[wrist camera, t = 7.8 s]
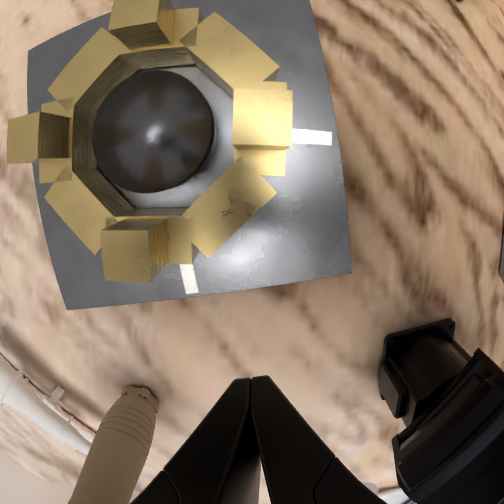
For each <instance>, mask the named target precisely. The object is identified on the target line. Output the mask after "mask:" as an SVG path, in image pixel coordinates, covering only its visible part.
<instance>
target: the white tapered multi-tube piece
mask: <svg viewBox="0 0 504 504" xmlns="http://www.w3.org/2000/svg"><path fill="white" fill-rule="evenodd" d="M64 392H65V391H64V390H63V389H62V388H61V387H59V386H57V388H56V389H55V391H54V392H53V394H52V395H51V397H50V398H49V397H48V396H46V395H43V394H42V393H41V392H40V391H38V390H37V389H36V388H35V387H34V386H33V385H31V384H30V383H29V380H28V379H27V378H26V379H25V378H24V377H23V373H22V372H21V371H20V370H19V371H17V370H15V369H14V368H13V367H12V366H11V365H10V364H9V363H8V362H7V361H6V360H5V358H4V357H3V356H2V355H1V354H0V405H1V406H3V405H4V404H5V405H6V406H8V407H10V408H11V409H13V410H15V411H16V412H18V413H19V414H21V415H23V416H25V417H26V418H28V419H30V420H31V421H32V422H34V423H35V424H36V425H37V426H39V427H40V428H41V429H43V430H44V431H45V432H47V433H48V434H49V435H51V436H52V437H54V438H55V439H56V441H57V442H61V443H64V444H66V445H68V446H69V447H71V448H72V449H73V450H74V451H76V449H77V450H79V451H80V452H82V453H84V454H85V455H88V452H89V450H90V447H91V444H92V442H93V439H94V437H95V435H96V434H95V433H94V432H92V431H91V430H90V429H88V428H87V427H85V426H84V425H82V424H81V423H79V422H78V421H77V420H75V419H74V418H73V417H74V416H73V415H71V416H70V415H69V414H67V413H66V412H65V411H63V410H62V409H61V407H60V406H59V405H58V404H57V403H58V401H59V400H60V398H61V397H62V395H63V393H64Z"/></svg>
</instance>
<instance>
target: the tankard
mask: <svg viewBox="0 0 504 504" xmlns="http://www.w3.org/2000/svg"><path fill="white" fill-rule="evenodd" d="M499 274H500V275H501V277H502V279H503V281H504V236H503V247H502V256H501V264H500V272H499Z"/></svg>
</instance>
